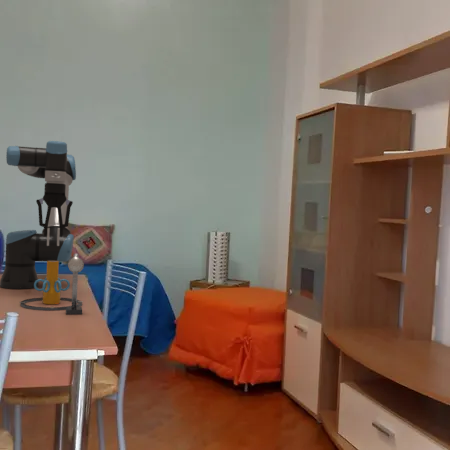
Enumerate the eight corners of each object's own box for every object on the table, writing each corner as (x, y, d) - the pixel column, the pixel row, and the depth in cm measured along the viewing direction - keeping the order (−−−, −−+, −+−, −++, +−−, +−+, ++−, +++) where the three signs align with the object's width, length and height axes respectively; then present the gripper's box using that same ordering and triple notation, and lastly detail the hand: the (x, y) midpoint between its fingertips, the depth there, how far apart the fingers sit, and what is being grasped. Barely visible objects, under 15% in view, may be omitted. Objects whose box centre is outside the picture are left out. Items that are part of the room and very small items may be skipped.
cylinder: (56, 307, 194) (58, 263, 194) (28, 304, 196) (30, 261, 196) (73, 301, 206) (74, 260, 206) (46, 299, 208) (48, 258, 208)
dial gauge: (65, 309, 191) (67, 251, 191) (80, 309, 193) (82, 252, 192) (66, 314, 183) (68, 254, 182) (82, 314, 185) (84, 254, 184)
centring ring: (20, 299, 205) (20, 296, 205) (81, 299, 212) (81, 296, 212) (17, 311, 185) (17, 307, 185) (85, 310, 192) (85, 307, 192)
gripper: (32, 181, 206) (30, 245, 207) (77, 183, 211) (75, 246, 212) (32, 181, 213) (30, 244, 214) (76, 184, 218) (74, 245, 219)
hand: (53, 245), depth 213 cm, fingers open, 3 cm apart
